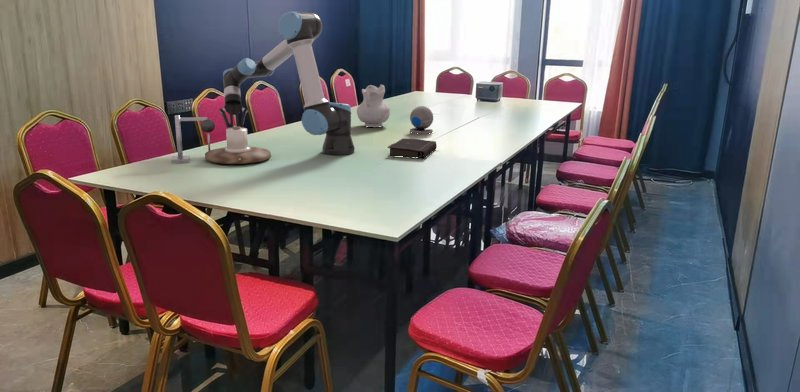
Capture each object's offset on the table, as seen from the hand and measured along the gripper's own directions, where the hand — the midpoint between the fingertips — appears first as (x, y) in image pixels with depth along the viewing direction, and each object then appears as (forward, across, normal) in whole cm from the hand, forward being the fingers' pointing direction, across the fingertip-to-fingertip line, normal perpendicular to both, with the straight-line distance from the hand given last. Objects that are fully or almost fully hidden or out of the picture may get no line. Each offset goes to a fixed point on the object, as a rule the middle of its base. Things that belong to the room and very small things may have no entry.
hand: (235, 139), depth 272 cm
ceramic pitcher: (-37, -80, -47) cm, 100 cm away
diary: (+15, -80, +5) cm, 82 cm away
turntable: (+13, 0, +4) cm, 14 cm away
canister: (+8, 0, +2) cm, 8 cm away
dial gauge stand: (+13, +18, +4) cm, 23 cm away
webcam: (-21, -102, -30) cm, 109 cm away
